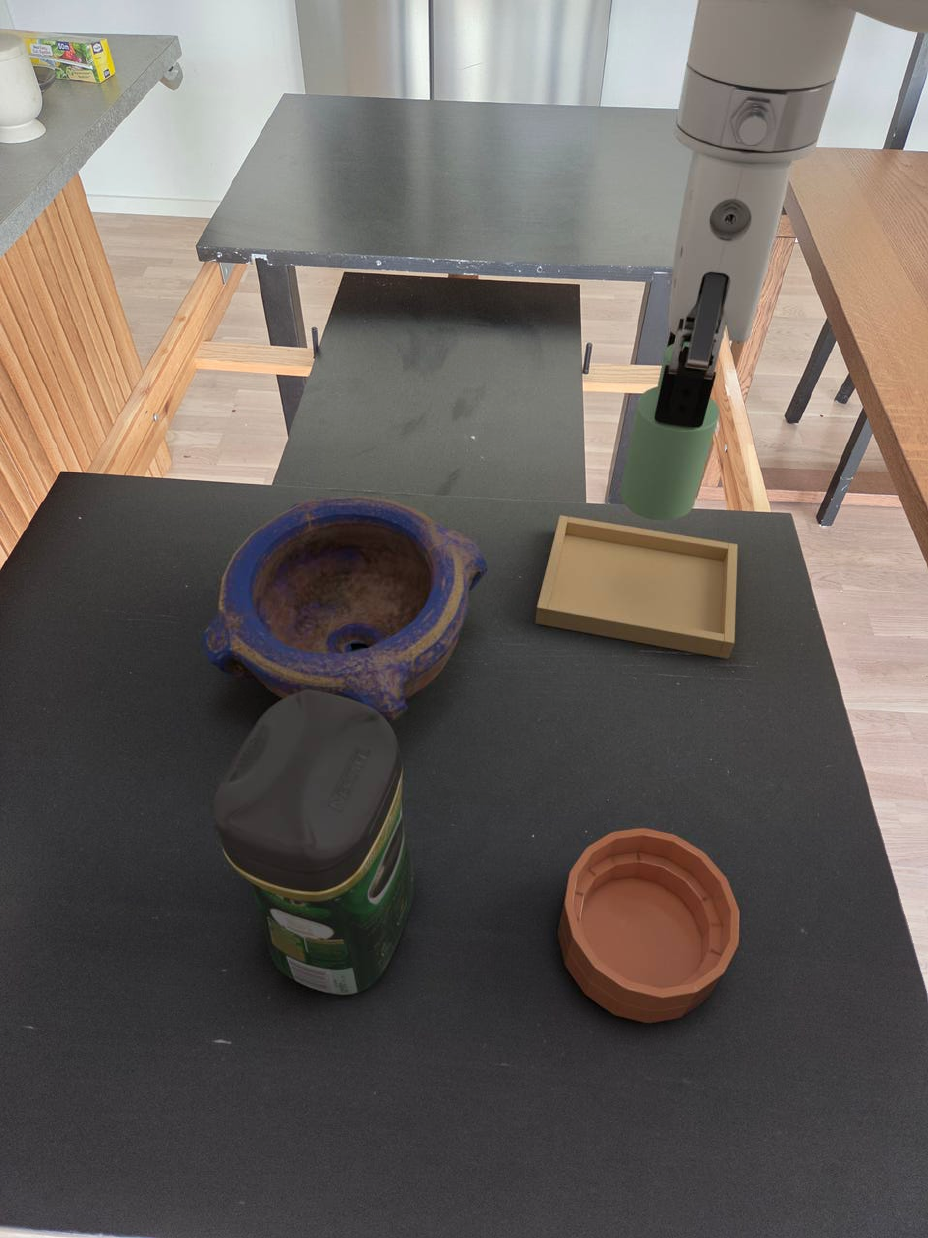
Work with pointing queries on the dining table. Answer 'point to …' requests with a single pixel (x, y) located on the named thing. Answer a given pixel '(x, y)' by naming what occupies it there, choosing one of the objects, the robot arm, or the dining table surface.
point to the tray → (641, 586)
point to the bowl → (345, 601)
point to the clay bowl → (647, 924)
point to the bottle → (665, 458)
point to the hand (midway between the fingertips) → (680, 402)
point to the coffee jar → (321, 838)
